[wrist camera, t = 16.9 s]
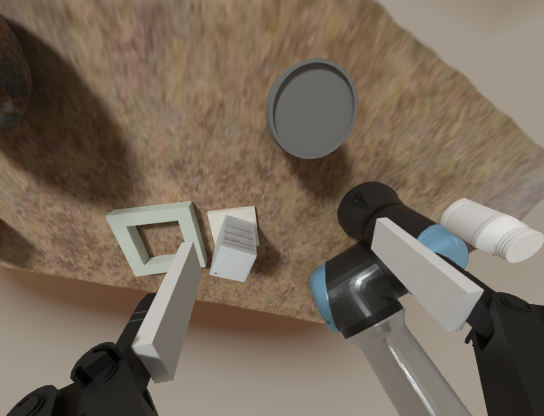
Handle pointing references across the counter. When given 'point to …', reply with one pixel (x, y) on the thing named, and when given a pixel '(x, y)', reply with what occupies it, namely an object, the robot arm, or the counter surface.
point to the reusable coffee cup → (311, 108)
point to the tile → (241, 213)
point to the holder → (129, 217)
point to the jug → (12, 78)
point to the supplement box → (234, 249)
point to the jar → (491, 231)
